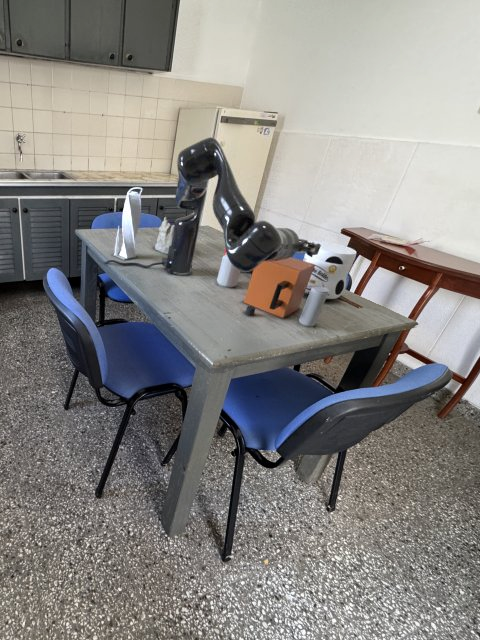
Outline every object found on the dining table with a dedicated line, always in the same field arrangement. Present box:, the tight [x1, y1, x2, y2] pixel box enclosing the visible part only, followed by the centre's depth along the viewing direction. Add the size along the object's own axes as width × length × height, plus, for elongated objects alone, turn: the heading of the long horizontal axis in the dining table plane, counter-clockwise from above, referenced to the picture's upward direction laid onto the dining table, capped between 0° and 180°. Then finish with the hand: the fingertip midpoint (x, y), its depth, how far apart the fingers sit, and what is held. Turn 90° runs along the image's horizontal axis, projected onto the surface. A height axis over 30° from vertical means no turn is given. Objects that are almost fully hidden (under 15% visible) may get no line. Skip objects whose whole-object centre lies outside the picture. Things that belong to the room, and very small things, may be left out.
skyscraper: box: [112, 186, 144, 261], centre depth 150 cm, size 8×8×28 cm
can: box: [216, 252, 241, 289], centre depth 135 cm, size 8×8×12 cm
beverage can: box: [298, 286, 329, 327], centre depth 112 cm, size 5×5×12 cm
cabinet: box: [270, 257, 315, 318], centre depth 121 cm, size 11×14×16 cm
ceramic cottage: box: [154, 216, 175, 255], centre depth 169 cm, size 16×16×15 cm
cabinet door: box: [243, 261, 301, 319], centre depth 115 cm, size 7×14×16 cm, turn 43°
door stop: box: [244, 305, 256, 317], centre depth 117 cm, size 3×3×2 cm
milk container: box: [302, 240, 357, 301], centre depth 133 cm, size 17×17×18 cm
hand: (295, 242), depth 98 cm, fingers open, 8 cm apart
